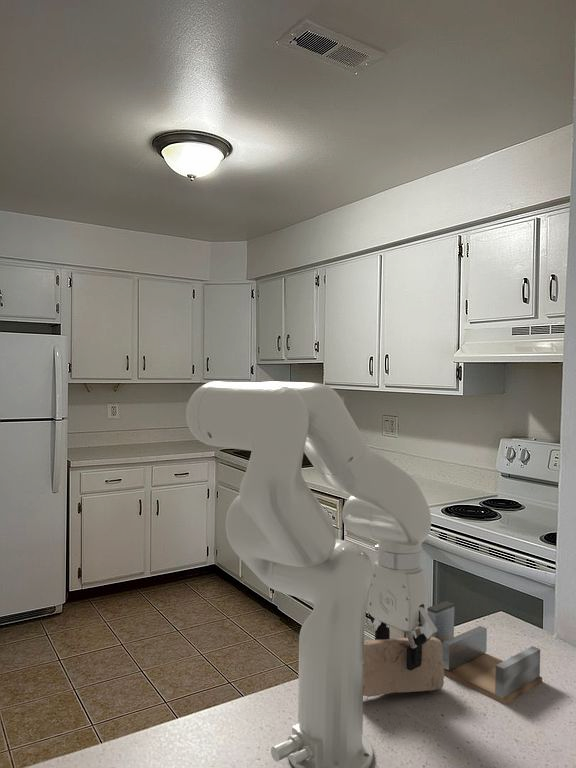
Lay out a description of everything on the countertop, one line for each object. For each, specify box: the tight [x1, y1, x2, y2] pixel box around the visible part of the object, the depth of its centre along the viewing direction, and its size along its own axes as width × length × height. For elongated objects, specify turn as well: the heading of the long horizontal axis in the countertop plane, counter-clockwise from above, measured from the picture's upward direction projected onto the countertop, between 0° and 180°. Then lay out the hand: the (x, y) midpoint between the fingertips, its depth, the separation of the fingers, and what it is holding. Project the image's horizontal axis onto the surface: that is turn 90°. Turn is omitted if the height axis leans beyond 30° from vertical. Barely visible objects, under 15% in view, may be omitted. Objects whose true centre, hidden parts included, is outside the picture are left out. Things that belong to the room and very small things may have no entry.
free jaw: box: [427, 600, 488, 670], centre depth 116 cm, size 12×8×8 cm, turn 129°
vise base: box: [443, 645, 543, 706], centre depth 112 cm, size 12×20×6 cm, turn 39°
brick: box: [363, 636, 445, 697], centre depth 104 cm, size 16×8×5 cm
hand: (397, 658), depth 105 cm, fingers closed on brick, 6 cm apart
